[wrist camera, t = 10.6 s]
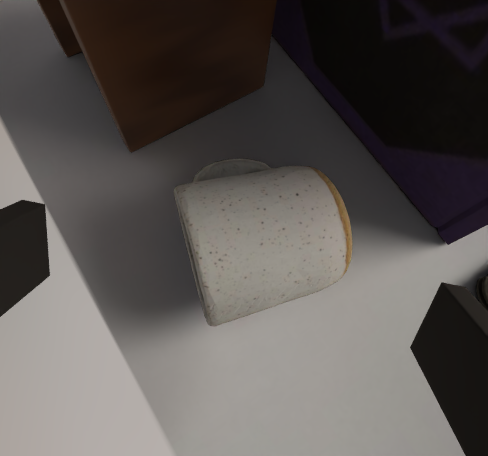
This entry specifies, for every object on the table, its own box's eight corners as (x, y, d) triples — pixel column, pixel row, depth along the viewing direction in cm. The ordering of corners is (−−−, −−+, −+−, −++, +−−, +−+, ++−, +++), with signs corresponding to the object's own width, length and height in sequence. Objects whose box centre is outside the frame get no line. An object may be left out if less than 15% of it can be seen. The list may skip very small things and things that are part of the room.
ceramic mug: (333, 292, 22) (387, 256, 14) (209, 335, 20) (202, 318, 13) (275, 158, 25) (295, 76, 18) (167, 186, 24) (143, 109, 17)
